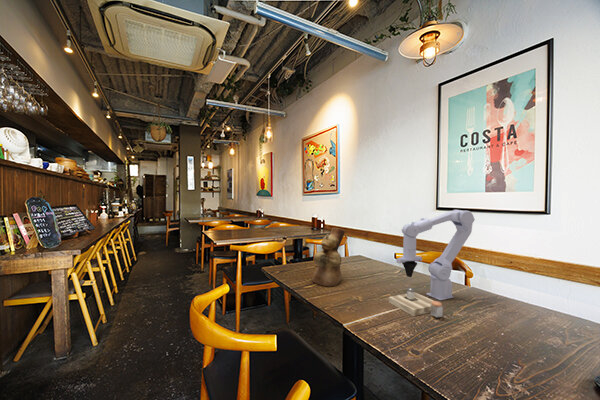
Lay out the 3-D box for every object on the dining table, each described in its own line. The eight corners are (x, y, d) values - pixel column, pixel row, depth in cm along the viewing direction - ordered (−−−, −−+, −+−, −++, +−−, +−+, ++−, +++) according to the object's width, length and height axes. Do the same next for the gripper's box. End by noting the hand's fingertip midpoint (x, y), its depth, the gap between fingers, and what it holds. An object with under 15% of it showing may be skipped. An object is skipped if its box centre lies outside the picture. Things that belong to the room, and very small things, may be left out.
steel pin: (410, 302, 115) (411, 287, 114) (416, 305, 112) (416, 289, 111) (405, 303, 114) (405, 287, 113) (410, 306, 111) (410, 290, 110)
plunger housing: (435, 313, 102) (435, 303, 102) (442, 316, 100) (442, 306, 100) (430, 314, 101) (430, 304, 101) (436, 317, 98) (437, 307, 98)
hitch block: (415, 297, 120) (415, 292, 120) (441, 309, 107) (441, 304, 107) (388, 302, 114) (389, 296, 114) (413, 316, 101) (413, 309, 101)
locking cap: (435, 310, 103) (435, 300, 103) (443, 314, 99) (443, 303, 99) (429, 312, 101) (429, 301, 101) (437, 316, 98) (437, 305, 98)
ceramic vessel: (306, 281, 141) (307, 228, 140) (332, 273, 155) (332, 225, 155) (327, 289, 129) (328, 231, 129) (353, 280, 144) (353, 228, 143)
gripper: (414, 246, 129) (413, 272, 129) (392, 248, 123) (391, 275, 123) (425, 249, 122) (425, 276, 122) (403, 251, 117) (402, 280, 117)
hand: (409, 276), depth 122 cm, fingers closed
